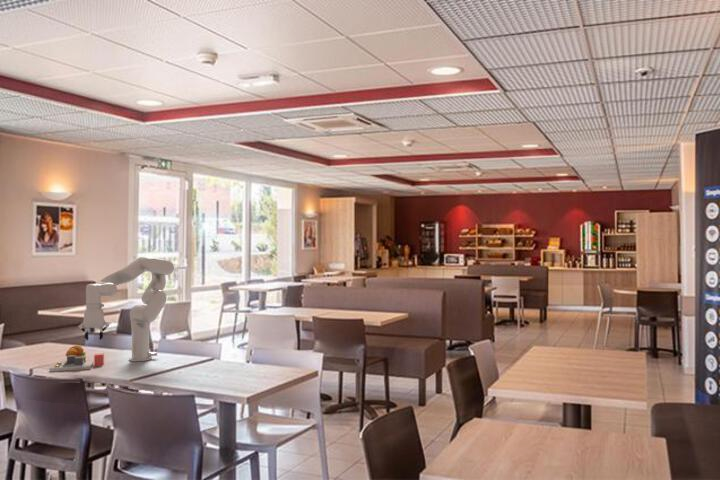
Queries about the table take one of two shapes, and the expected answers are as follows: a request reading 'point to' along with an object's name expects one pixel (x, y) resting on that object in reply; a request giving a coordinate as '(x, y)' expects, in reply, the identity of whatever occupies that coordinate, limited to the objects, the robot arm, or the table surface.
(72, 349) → the cheeseburger
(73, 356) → the breaker
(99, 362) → the red rectangular block
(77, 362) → the breaker
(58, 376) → the table surface
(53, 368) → the panel
